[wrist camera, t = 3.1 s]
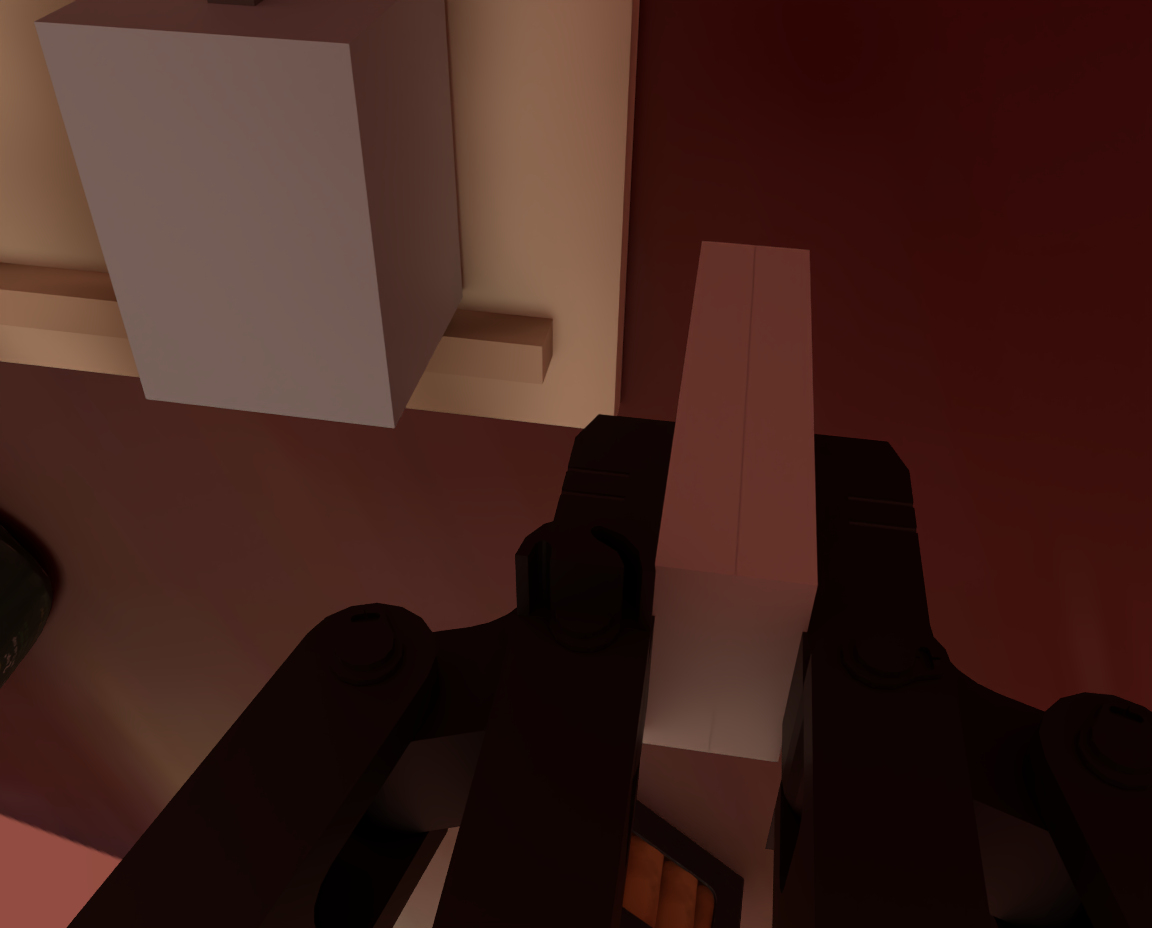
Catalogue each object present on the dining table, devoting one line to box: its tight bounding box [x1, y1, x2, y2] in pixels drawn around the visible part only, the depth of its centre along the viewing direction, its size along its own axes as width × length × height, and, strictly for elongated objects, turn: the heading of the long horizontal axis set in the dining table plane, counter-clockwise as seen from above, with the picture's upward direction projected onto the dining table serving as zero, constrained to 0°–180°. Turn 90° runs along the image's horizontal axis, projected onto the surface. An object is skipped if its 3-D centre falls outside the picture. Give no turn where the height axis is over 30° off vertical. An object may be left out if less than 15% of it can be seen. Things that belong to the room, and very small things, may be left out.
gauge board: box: [0, 0, 640, 428], centre depth 22 cm, size 22×14×2 cm, turn 89°
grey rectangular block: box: [34, 0, 463, 428], centre depth 18 cm, size 5×11×5 cm, turn 179°
